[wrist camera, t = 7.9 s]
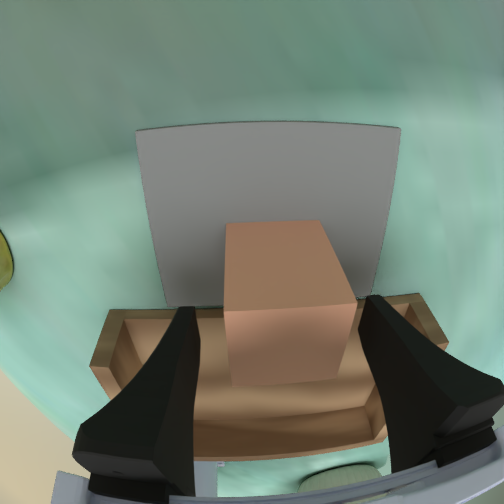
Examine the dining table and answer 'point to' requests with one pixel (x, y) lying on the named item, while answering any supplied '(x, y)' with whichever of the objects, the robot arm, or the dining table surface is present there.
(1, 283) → the vase
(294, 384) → the crate
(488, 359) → the dining table surface
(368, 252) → the mat
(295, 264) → the block
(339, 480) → the canister
